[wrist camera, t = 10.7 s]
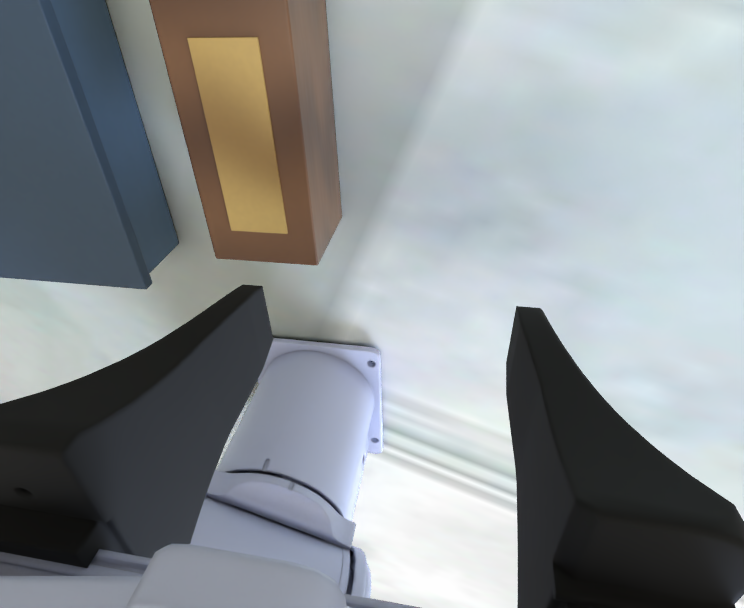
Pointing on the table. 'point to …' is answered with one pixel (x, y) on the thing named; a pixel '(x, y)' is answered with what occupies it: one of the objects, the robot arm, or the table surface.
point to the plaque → (257, 122)
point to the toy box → (74, 152)
